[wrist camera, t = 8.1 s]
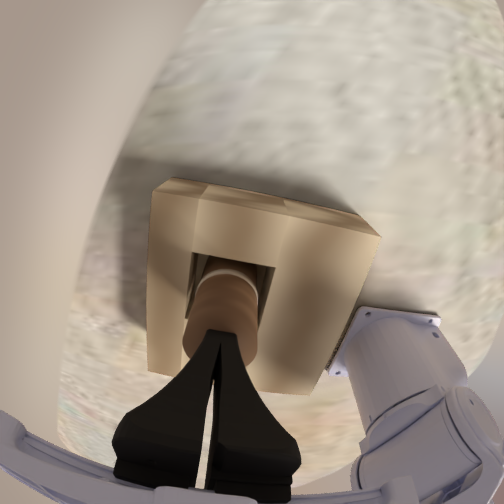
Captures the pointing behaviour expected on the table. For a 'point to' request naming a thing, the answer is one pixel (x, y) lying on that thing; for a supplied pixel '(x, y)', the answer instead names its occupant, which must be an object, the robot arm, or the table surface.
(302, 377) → the socket block
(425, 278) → the table surface
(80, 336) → the table surface
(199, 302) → the peg
